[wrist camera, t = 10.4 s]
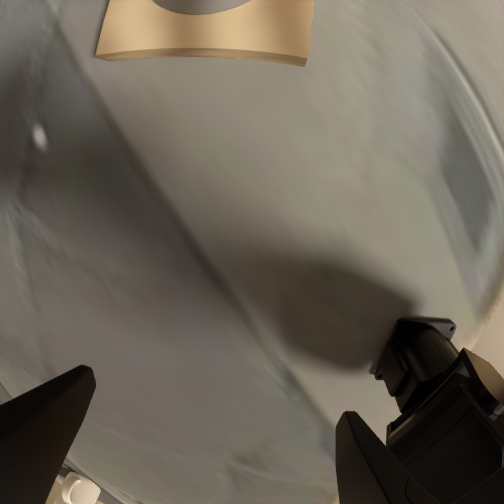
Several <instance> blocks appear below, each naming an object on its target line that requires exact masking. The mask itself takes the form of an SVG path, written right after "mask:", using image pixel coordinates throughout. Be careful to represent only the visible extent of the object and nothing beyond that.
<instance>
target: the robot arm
mask: <svg viewBox="0 0 504 504" xmlns="http://www.w3.org/2000/svg"><path fill="white" fill-rule="evenodd" d="M403 323H404V324H403ZM401 324H403V325H402V326H401ZM455 329H456V325H455V323H454V322H449V321H434V320H420V319H407V318H401V319H399V320H398V321H397V323H396V325H395V328H394V330H393V333H392V335H391V337H390V340H389V341H388V343H387V344H386V347H385V349H384V351H383V354H382V356H381V358H380V360H379V363H378V367H377V369H376V371H375V373H374V376H375V379H376V380H384V382H385V384H386V387H387V389H388V392H389V394H390V396H391V397H395V400H396V402H397V405H398V407H399V410H400V412H401V413H402V414H401V415H400V416H399V417H398V418H397V419H396V420H395V421H393V422H391V423H390V424H388V425H387V435H386V446H385V445H384V444H383V442H382V441H381V440H380V439H379V438H378V437H377V436H376V434H375V433H374V432H373V431H372V430H371V429H370V427H369V426H368V425H367V424H366V423H365V422H364V420H363V419H362V418H361V417H360V416H359V415H358V413H357V412H355V411H345V412H343V414H342V416H341V418H340V420H339V421H338V423H337V426H336V474H337V483H338V493H339V502H340V504H504V379H503V378H502V377H501V375H500V374H499V373H498V372H497V371H496V370H495V368H494V367H493V366H492V365H491V364H490V363H489V362H487V361H486V360H484V359H482V358H480V357H479V356H477V355H476V354H474V353H472V352H471V351H469V350H467V349H466V348H463V349H462V350H461V351H460V352H458V350H457V349H456V348H455V346H454V345H453V344H452V342H451V341H450V340H451V338H452V336H453V334H454V332H455ZM380 374H381V375H380ZM95 388H96V381H95V377H94V374H93V370H92V368H91V367H88V366H86V365H79V366H77V367H75V368H73V369H72V370H70V371H68V372H66V373H64V374H62V375H60V376H58V377H56V378H54V379H52V380H50V381H48V382H46V383H44V384H42V385H40V386H38V387H36V388H34V389H32V390H30V391H28V392H26V393H24V394H22V395H20V396H18V397H16V398H14V399H12V400H11V401H8V402H6V403H4V404H1V405H0V504H45V503H46V500H47V498H48V496H49V493H50V491H51V489H52V486H53V484H54V482H55V479H56V477H57V475H58V473H59V470H60V468H61V466H62V464H63V462H64V460H65V457H66V455H67V453H68V451H69V449H70V447H71V445H72V443H73V441H74V439H75V437H76V435H77V432H78V430H79V428H80V426H81V424H82V422H83V420H84V418H85V415H86V412H87V410H88V407H89V404H90V401H91V399H92V396H93V393H94V391H95Z"/></svg>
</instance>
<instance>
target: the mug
mask: <svg viewBox="0 0 504 504" xmlns="http://www.w3.org/2000/svg"><path fill="white" fill-rule="evenodd" d="M99 494H100V489H99V487H98V486H97V485H96V484H94V483H93V482H92V481H90V480H89V479H87V478H86V477H84V476H82V475H80V474H78V473H76V472H69V474H68V475H67V476H66V478H65V479H64V482H63V484H62V486H61V488H60V490H59V493H58V495H57V497H56V500H55V502H54V504H95V502H96V500H97V498H98V496H99Z"/></svg>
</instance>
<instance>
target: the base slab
mask: <svg viewBox="0 0 504 504" xmlns="http://www.w3.org/2000/svg"><path fill="white" fill-rule="evenodd" d="M313 8H314V0H110V2H109V5H108V8H107V12H106V15H105V19H104V22H103V26H102V30H101V34H100V38H99V42H98V46H97V51H96V56H98V57H101V58H103V59H105V60H108V61H114V60H124V59H135V58H150V57H177V56H197V57H225V58H240V59H251V60H261V61H270V62H277V63H285V64H291V65H298V66H303V67H304V66H305V64H306V61H307V58H308V51H309V43H310V34H311V26H312V17H313Z"/></svg>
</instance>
